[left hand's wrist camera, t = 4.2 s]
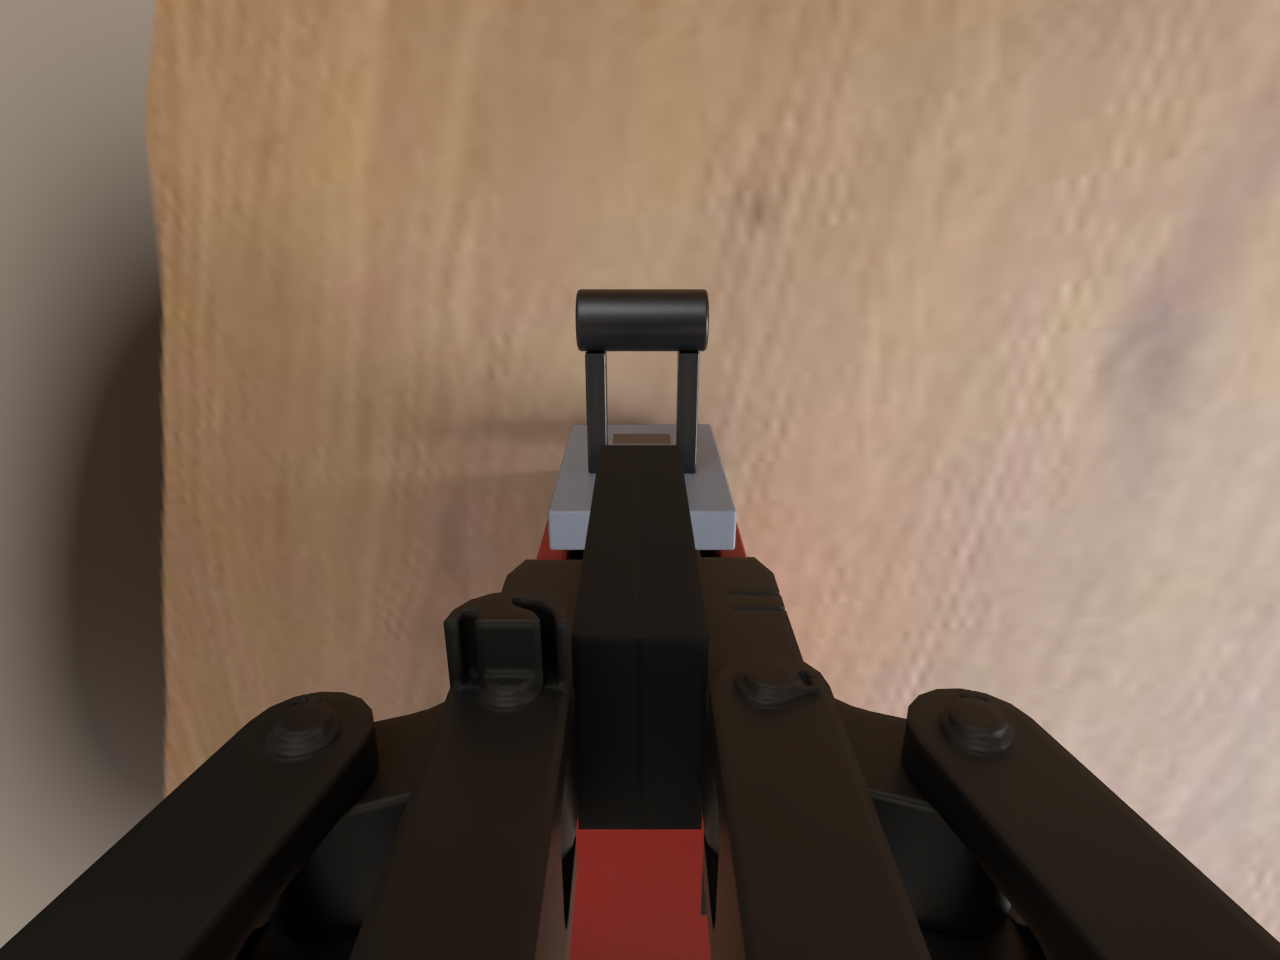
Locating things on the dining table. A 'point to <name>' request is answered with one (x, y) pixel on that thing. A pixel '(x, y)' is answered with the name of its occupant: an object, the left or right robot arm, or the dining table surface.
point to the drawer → (643, 327)
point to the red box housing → (638, 875)
